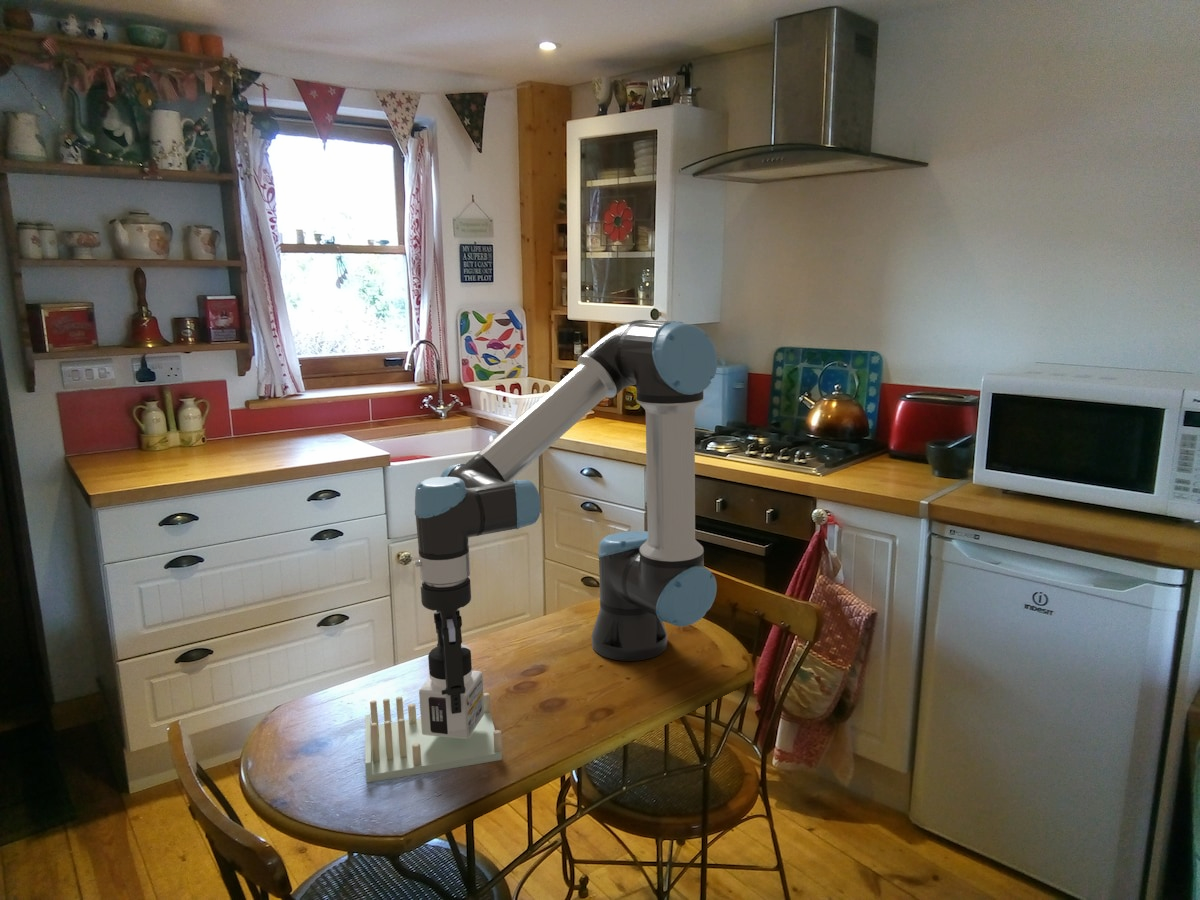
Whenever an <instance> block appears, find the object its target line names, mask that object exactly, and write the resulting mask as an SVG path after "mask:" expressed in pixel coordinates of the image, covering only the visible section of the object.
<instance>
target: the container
mask: <svg viewBox="0 0 1200 900" xmlns="http://www.w3.org/2000/svg"><path fill="white" fill-rule="evenodd" d="M461 651H462V663H463V675H464V687H465V690H466V691H465V693H464V702H465V720H466V729H463V730H457V731H450V732H448V728H447V712H446V695H445V694H444V695H442V690H446V679H445V668H444V657H443V649H442V648H441V647H440V646H437V645H436V647H433V649H431V650H430V652H429V653H428V654H427V655H428V656H427V657H428V671H429V673H428V674H429V678H428V679H427V680H426V681H425V683H424V684H423V685H422V686H421V688H419V690H418V697H419V711H420V713H419V714H420V718H421V728H422V734H423V735H430V736H440V737H450V738H460V739H468V738H469V737H470V735H471V734H472V732H473V731H474V729H475V728H476V726H477V725H478V723H479V721H480V720H481V718H482V717H483V715H484V697H483V694H484V682H483V681H484V680H483V679H484V678H483V672H482V671H480V670H473V669H472V667H473V666H472V651H471V649H470V648H469V647H468V646H467V645H465V644H462V643H461Z"/></svg>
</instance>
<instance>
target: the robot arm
mask: <svg viewBox="0 0 1200 900" xmlns="http://www.w3.org/2000/svg"><path fill="white" fill-rule="evenodd" d="M716 350H717V349H716V346H715V344H714V342H713V340H712V339H711V337H710V335H708V334H707V333H706V332H705V330H704V329H702V328H701V327H698V326H697V325H695V324H690V323H684V322H683V321H675V320H674V321H673V320H672V321H671V320H670V321H668V320H667V321H666V320H665V321H664V320H659V321H658V320H647V319H639V320H638V319H636V320H632V321H629V322H626V323H624V324H621V325H619V326H617V327H616V328H615V329H613V330H611V331H609V332H608V333H607V334H606V335H604V336H603V337H602V338H600V339H599V340H597V341H596V342H595V343H594V344H592V346H590V347H589V348H588V349H587V350H586V351H585V352H583V354H581V355H579V357H578V358H577V366H576V367H574V369H572V370H571V371H570V372H569V373H568V374H566V375H565V376H564V377H563V378H562V379H561V380H560V381H559V382H558V383H556V384H555V385H554V386H553V387H551V388H550V390H548V391H547V392H546V393H545V394H544V395H542V397H541V398H539V400H537V401H535V403H534V404H532V405H531V406H530V407H529V408H528V409H527V410H526V411H525V412H523V413H522V414H521V415H520V416H519V417H517V418H516V419H515V420H514V421H513V422H512V423H511V424H510V425H508V426H507V427H506V428H505V429H504V430H503V431H501V433H499V434H497V436H496V437H495V438H493V440H491V441H490V442H489V443H488V444H487V445H485V447H483V448H482V449H480V450H479V452H477V453H476V454H475V455H474V456H473V457H472V458H471V459H469V460H468V461H467V462H466V463H456V464H452V465H450V466H448V467H447V468H445V469H444V471H442V473H441V475H440V476H434V477H429V478H425V479H423V480H421V481H420V482H419V483H417V485H416V487H415V492H414V494H415V495H414V516H415V523H416V535H417V536H416V537H417V545H418V546H417V547H418V559H419V560H415V562H414V566H415V567H416V568H419V574H420V580H421V582H420V599H421V604H422V606H423V607H424V608H425V609H427V610H430V611H432V612H433V611H434V612H433V620H434V621H433V622H434V624H435V633H436V634H437V636H436V637H437V643H436V647H437V646H440V647H441V648H442V649H443V657H444V668H445V679H446V690H442V695H444V694H445V695H446V712H447V728H448V732H450V731H457V730H463V729H466V720H465V702H464V693H465V691H466V690H465V687H464V675H463V663H462V651H461V644H462V643H463V638H462V626H463V620H462V615H460V614H461V612H460V609H461V608H464V607H466V606H468V604H470V602H471V601H472V589H471V588H472V585H471V579H470V578H469V576H470V575H471V562H470V550H469V548H470V546H469V538H473V537H480V536H485V535H489V534H496V533H500V532H501V533H502V532H506V531H513V530H519V529H520V528H524V527H528V526H531V525H534V524H536V522H537V521H538V520H539V518H540V514H541V511H542V510H541V508H542V507H541V504H542V503H541V497H540V494H539V491H538V488H537V486H536V485H535V484H534V483H533V482H532V481H531V480H529V479H516V477H518V476H519V475H520V474H521V473H522V472H524V470H525V469H527V468H528V467H529V466H530V465H531V464H532V463H534V462H535V460H537V459H538V458H539V457H540V456H541V455H542V454H543V453H545V452H546V451H547V450H548V449H549V448H550V447H551V446H552V445H553V444H555V443H556V442H557V441H558V440H559V439H560V438H561V437H562V436H564V435H565V434H566V433H567V432H568V431H569V430H570V429H571V428H572V427H573V426H575V425H576V424H577V423H578V422H579V421H580V420H581V419H582V418H584V417H585V416H586V415H588V413H589V412H590V411H592V409H593V408H596V406H597V405H599V403H600V402H601V401H603V400H604V399H605V398H609V399H613V398H614V397H616V395H618V394H619V393H620V392H621V391H622V390H624V389H626V388H628V387H632V386H636V391H635V392H636V403H638V404H639V405H640V406H641V407H642V408H643V409H644V410H645V451H646V453H645V454H646V458H645V459H646V461H645V463H646V516H647V517H646V519H647V520H646V521H647V531H646V530H630V531H629V530H628V531H620V532H616V533H611V534H609V535H606V536H603V538H602V539H601V540H600V542H599V547H598V555H597V557H598V567H599V568H598V569H599V571H598V572H599V575H598V576H599V577H598V580H599V610H598V613H597V616H596V620H595V623H594V626H593V629H592V632H591V646H592V649H593V650H594V652H596V653H597V654H599V656H602V657H603V658H608V659H610V660H616V661H624V662H631V661H632V662H634V661H635V662H636V661H638V662H639V661H643V660H649V659H652V658H653V659H654V658H655V657H657V656H659V655H661V654H662V653H664V652H665V650H666V649H667V647H668V633H667V629H666V627H665V624H664V623H668V624H671V625H673V626H676V627H682V628H683V627H688V626H691V625H693V624H695V623H697V622H698V621H700V620H701V619H702V618H704V617H705V615H706V613H707V612H708V611H709V610H710V609H711V607H712V606H713V604H714V602H715V598H716V596H717V587H718V585H717V580H716V576H715V575H714V574H713V573H712V572H711V570H710V569H709V568H706V567H705V565H704V564H705V563H704V560H705V559H704V557H705V556H704V555H705V553H704V552H705V550H704V546H703V545H702V544H701V543H700V542H699V541H697V539H696V464H695V463H696V455H695V454H696V449H695V448H696V447H695V446H696V443H695V441H696V438H695V437H696V436H695V433H696V431H695V429H696V427H695V426H696V425H695V421H696V420H695V419H696V418H695V417H696V416H695V414H696V413H695V410H696V409H697V407H698V406H700V404H701V403H703V401H704V391H705V390H706V389H707V388H708V387H710V385H711V384H712V381H711V380H713V379H714V378H715V377H716V374H717V370H718V369H717V368H718V355H717V351H716ZM435 611H436V612H435Z"/></svg>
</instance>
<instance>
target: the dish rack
mask: <svg viewBox="0 0 1200 900" xmlns="http://www.w3.org/2000/svg"><path fill="white" fill-rule="evenodd" d="M483 697H484V715H483V717H482V718H481V720H480V721H479V723H478V725H477V726H476V728H475V729H474V731H473V732H472V734H471V735H470V737H469V738H468V739H460V738H450V737H440V736H430V735H423V734H422V728H421V717H420V718H417V710H416V706H417V705H416V704H415V703H410V704H408V705H407V711H408V720H405V716H404V715H405V714H404V701H403V697H402V696H397V697H396V698H395V704H396V705H395V706H396V715H397V718H396V719H397V721H395V722H392V714H391V702H390V698H384V699H383V700H382V705H383V718H384V719H383V720H384V721H383V723H382V724H379V717H378V703H377V700H374V699H373V700H371V701H369V704H370V706H369V707H370V714H368V715H367V714H366V715H365V716H364V717H365V718H364V721H365V722H364V723H365V725H364V727H365V728H364V729H365V731H364V734H365V736H364V737H365V742H364V744H365V746H364V748H365V754H364V755H365V756H364V757H365V758H364V760H365V761H364V763H365V776H366V783H367V784H368V783H374V782H380V781H381V782H382V781H385V780H391V779H397V778H402V777H410V776H415V775H421V774H425V773H426V774H427V773H433V772H438V771H444V770H451V769H456V768H460V767H461V768H462V767H467V766H473V765H478V764H480V765H481V764H485V763H490V762H497V761H503V753H502V751H503V738H502V737H503V736H502V731H501V730H500V729H499V730H498V729H495V725H494V721H493V718H492V715H491V694H490V693H489V692H483Z"/></svg>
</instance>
